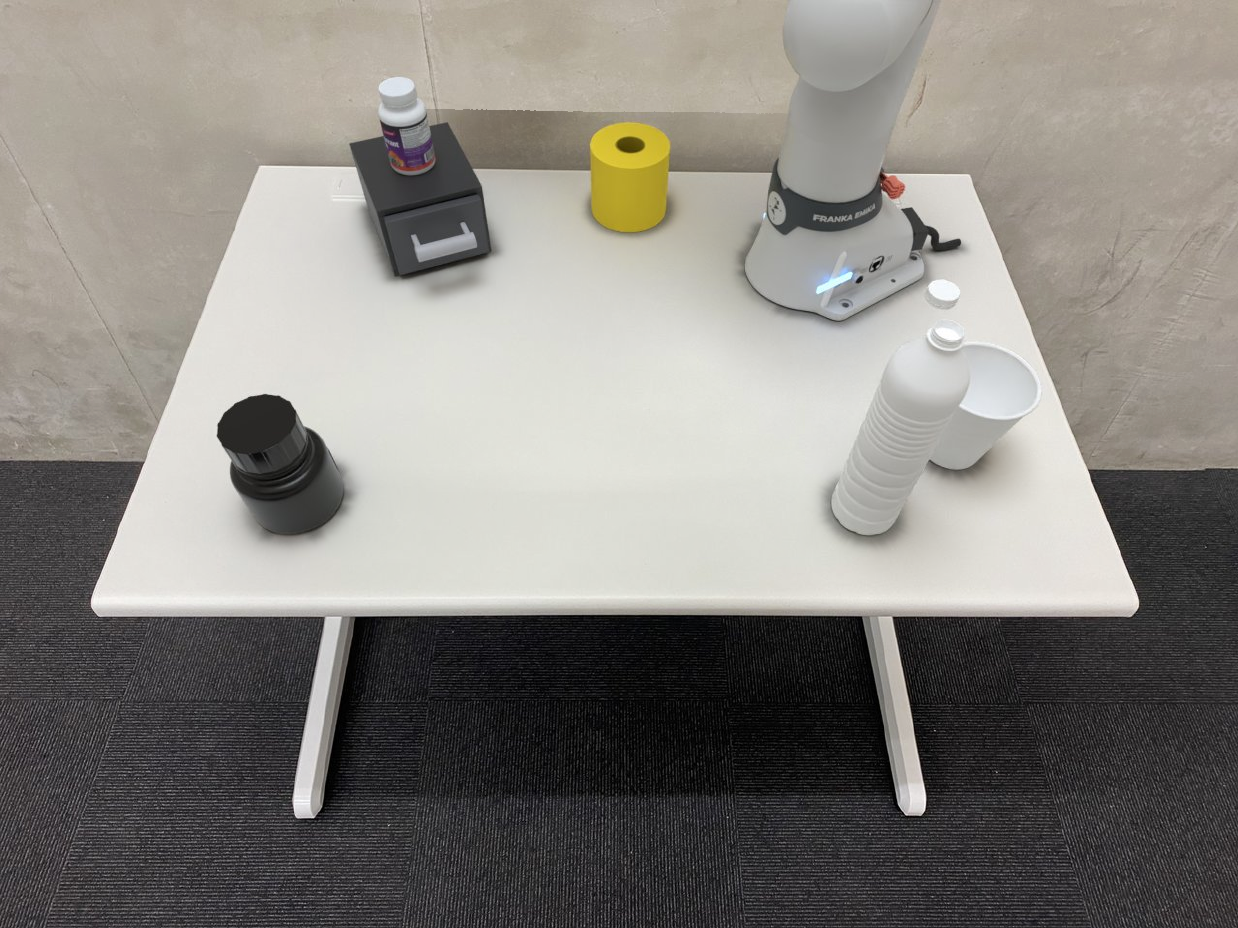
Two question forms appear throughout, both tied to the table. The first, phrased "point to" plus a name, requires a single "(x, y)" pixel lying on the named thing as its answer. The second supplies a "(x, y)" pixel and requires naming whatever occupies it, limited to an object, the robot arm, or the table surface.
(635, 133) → the yellow toilet paper roll
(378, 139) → the cabinet
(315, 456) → the ink bottle
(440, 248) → the drawer
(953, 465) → the cup
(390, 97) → the pill bottle
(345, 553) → the table surface
